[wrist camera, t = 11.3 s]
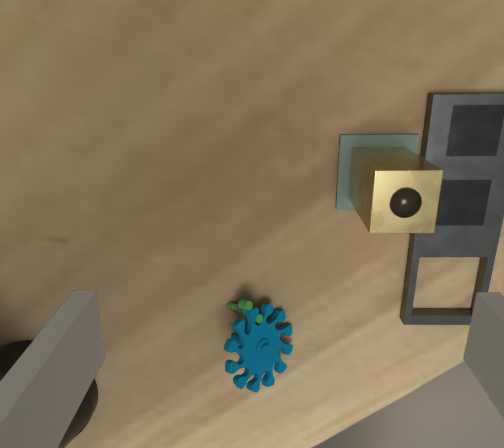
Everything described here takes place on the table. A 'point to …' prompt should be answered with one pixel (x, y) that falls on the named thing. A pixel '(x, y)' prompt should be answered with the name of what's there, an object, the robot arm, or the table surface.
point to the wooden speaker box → (394, 189)
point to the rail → (461, 194)
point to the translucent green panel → (365, 141)
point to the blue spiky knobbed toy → (257, 344)
